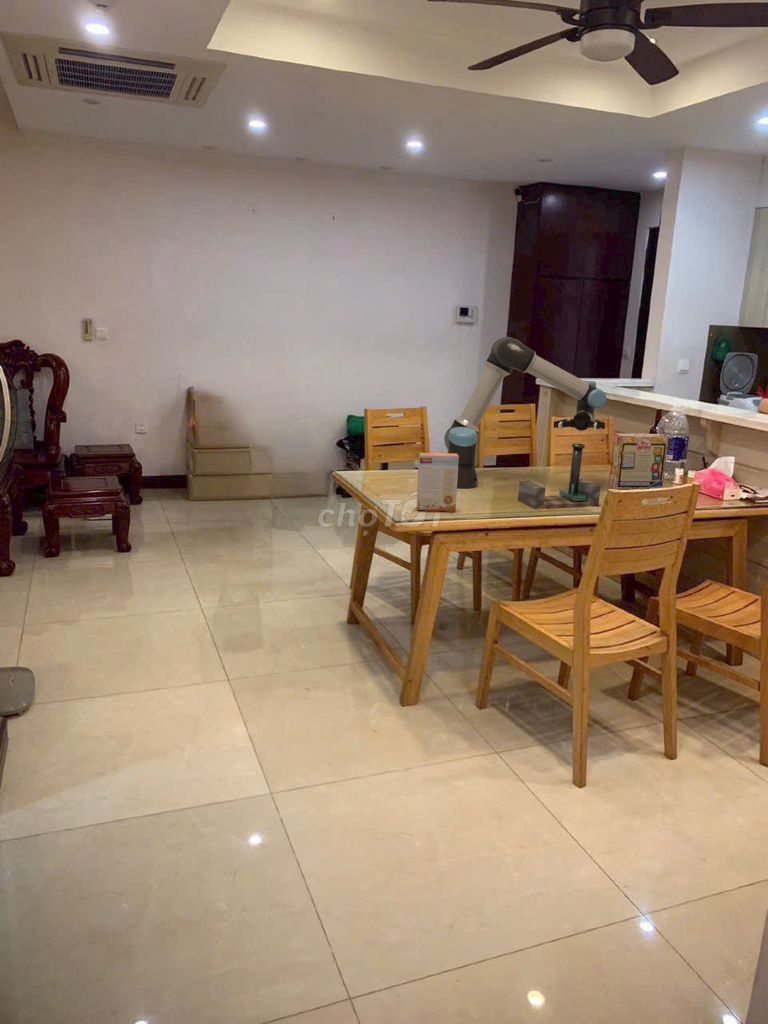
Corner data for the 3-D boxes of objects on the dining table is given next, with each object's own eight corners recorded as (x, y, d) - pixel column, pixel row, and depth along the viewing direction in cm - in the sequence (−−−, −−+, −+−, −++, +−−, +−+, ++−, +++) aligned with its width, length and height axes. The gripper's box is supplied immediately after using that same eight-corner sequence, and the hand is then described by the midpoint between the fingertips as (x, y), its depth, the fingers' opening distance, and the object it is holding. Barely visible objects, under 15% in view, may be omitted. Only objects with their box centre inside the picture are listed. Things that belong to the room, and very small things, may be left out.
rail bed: (534, 509, 285) (536, 487, 283) (517, 500, 297) (519, 479, 295) (598, 506, 294) (600, 485, 291) (580, 498, 306) (582, 477, 303)
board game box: (653, 499, 309) (662, 433, 302) (661, 503, 303) (670, 436, 296) (606, 498, 306) (614, 432, 299) (612, 502, 300) (621, 435, 293)
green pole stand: (572, 501, 291) (578, 447, 286) (559, 494, 300) (564, 442, 295) (586, 500, 293) (592, 446, 288) (572, 494, 302) (578, 442, 297)
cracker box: (453, 508, 281) (457, 452, 275) (455, 512, 275) (459, 455, 269) (415, 507, 280) (419, 451, 275) (417, 511, 274) (420, 454, 269)
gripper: (612, 430, 315) (609, 438, 296) (552, 428, 323) (544, 436, 304) (613, 412, 313) (610, 418, 294) (552, 411, 321) (545, 417, 302)
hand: (576, 427), depth 299 cm, fingers open, 13 cm apart
